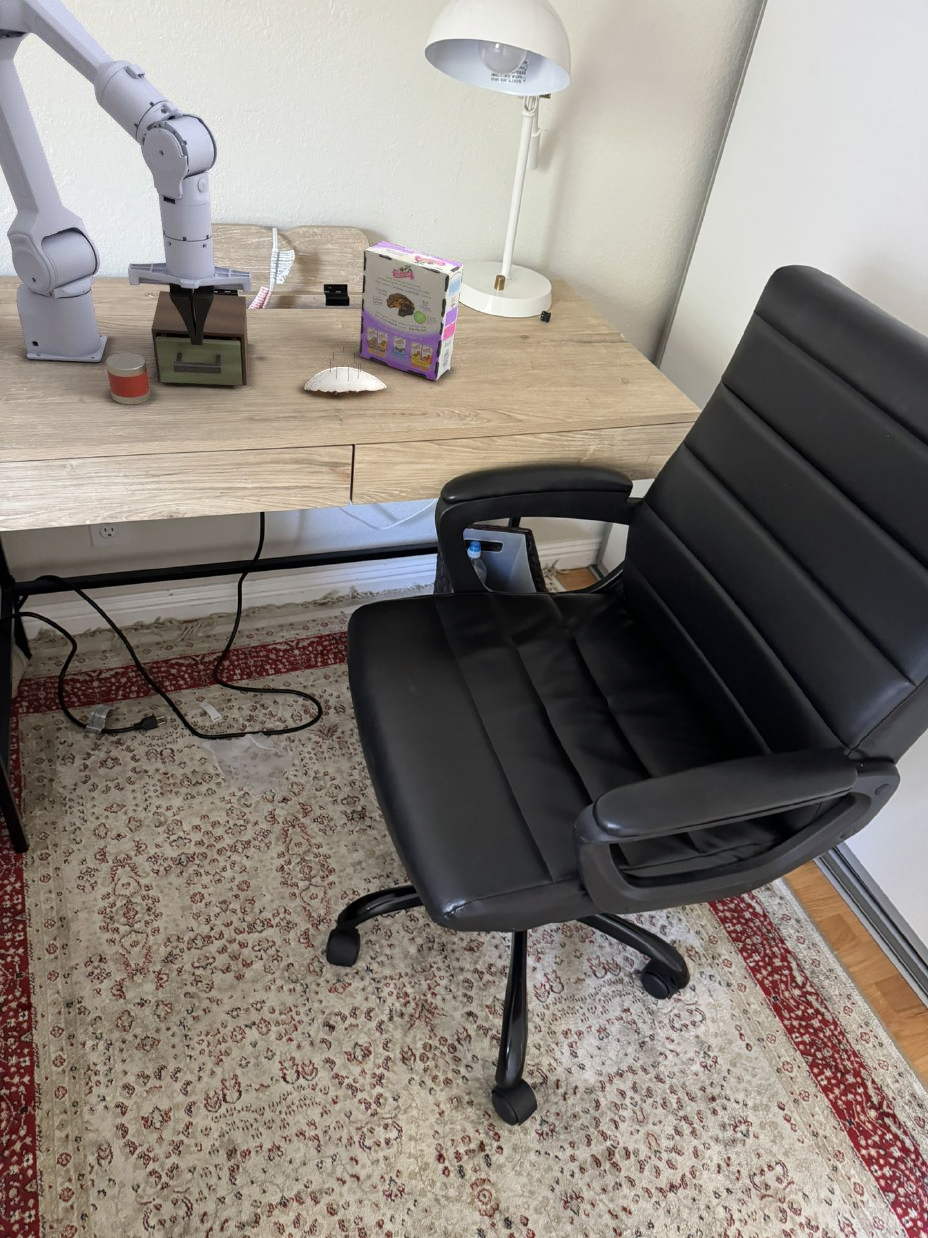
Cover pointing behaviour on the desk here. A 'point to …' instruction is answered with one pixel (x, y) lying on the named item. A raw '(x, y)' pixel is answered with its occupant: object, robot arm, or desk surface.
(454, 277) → the candy box
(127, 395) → the can
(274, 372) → the desk surface
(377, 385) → the pincushion
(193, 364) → the drawer
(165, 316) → the cabinet
